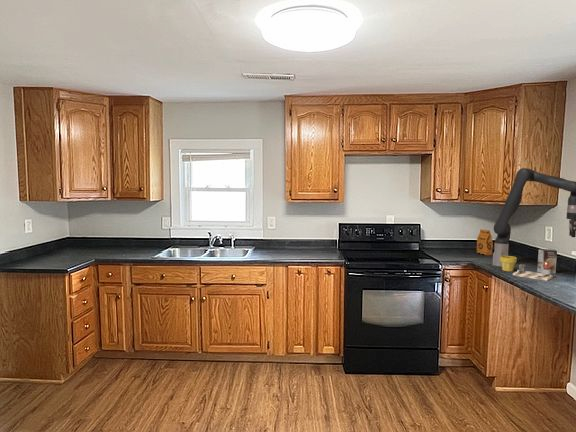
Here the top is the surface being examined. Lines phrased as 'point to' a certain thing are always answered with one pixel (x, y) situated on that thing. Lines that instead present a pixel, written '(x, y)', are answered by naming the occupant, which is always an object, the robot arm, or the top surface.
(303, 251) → the top surface
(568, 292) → the top surface
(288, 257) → the top surface
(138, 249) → the top surface
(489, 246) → the coffee package
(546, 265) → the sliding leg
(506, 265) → the plant pot
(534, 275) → the beige wooden board
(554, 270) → the coffee box
